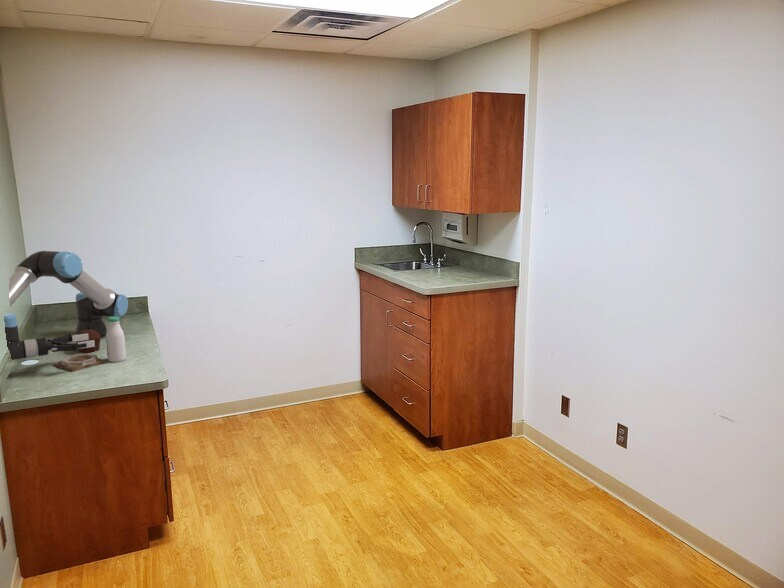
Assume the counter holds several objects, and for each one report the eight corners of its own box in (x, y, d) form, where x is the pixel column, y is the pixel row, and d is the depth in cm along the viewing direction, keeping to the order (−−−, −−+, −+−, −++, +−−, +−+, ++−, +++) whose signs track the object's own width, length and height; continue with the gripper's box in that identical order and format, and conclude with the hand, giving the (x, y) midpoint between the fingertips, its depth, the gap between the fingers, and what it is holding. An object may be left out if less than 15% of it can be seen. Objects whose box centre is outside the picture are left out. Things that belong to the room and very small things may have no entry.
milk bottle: (130, 358, 280) (126, 316, 276) (117, 363, 273) (114, 320, 269) (116, 356, 282) (113, 314, 278) (104, 361, 275) (100, 318, 271)
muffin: (103, 352, 289) (101, 331, 287) (77, 355, 284) (75, 334, 282) (100, 346, 299) (98, 326, 297) (75, 349, 294) (73, 329, 292)
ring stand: (86, 357, 281) (86, 351, 281) (105, 362, 273) (104, 356, 273) (53, 365, 269) (53, 359, 268) (72, 371, 261) (71, 365, 260)
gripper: (33, 349, 268) (86, 341, 280) (41, 363, 248) (97, 354, 261) (32, 332, 267) (85, 325, 279) (39, 345, 247) (96, 337, 259)
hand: (91, 339), depth 270 cm, fingers open, 13 cm apart
